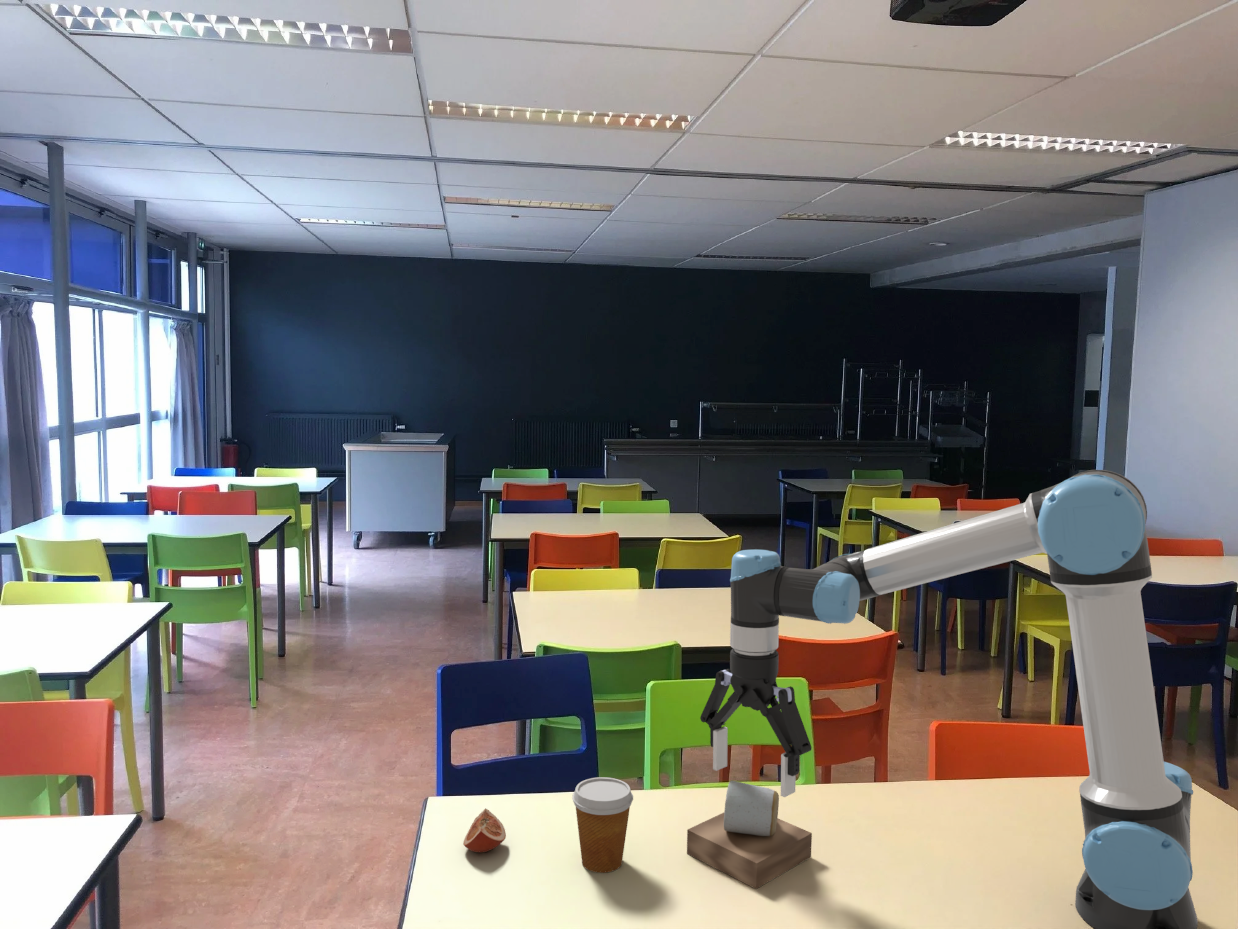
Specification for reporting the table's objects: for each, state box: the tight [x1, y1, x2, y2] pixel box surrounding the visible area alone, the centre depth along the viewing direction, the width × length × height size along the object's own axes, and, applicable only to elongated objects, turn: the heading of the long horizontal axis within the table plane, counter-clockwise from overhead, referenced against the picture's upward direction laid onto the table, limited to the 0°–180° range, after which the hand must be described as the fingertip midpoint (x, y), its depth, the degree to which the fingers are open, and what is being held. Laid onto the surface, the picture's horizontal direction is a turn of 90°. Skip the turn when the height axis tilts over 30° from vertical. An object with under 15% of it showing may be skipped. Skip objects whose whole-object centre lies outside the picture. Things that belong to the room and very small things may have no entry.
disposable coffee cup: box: [571, 776, 634, 874], centre depth 144 cm, size 10×10×12 cm
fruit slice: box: [463, 808, 507, 853], centre depth 149 cm, size 8×7×5 cm
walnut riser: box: [686, 812, 813, 890], centre depth 148 cm, size 14×14×4 cm
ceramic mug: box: [723, 780, 780, 836], centre depth 148 cm, size 11×8×8 cm
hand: (752, 780), depth 146 cm, fingers open, 13 cm apart
